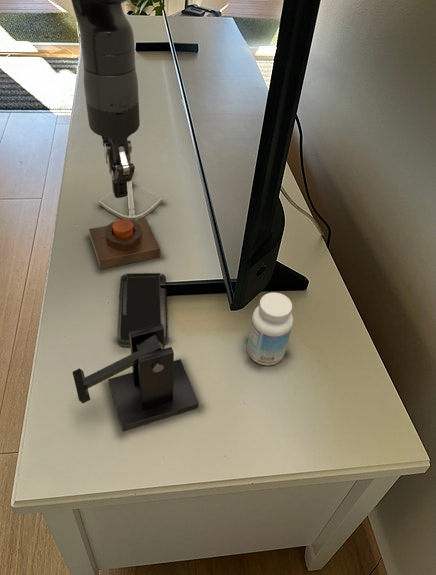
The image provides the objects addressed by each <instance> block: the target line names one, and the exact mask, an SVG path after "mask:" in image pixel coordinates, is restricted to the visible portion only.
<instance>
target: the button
mask: <svg viewBox="0 0 436 575" xmlns="http://www.w3.org/2000/svg"><path fill="white" fill-rule="evenodd" d="M114 221H115V222H114ZM114 221H113V222H114V223H113V234H114V236H115V237H117V238H120V239H126V238H130V237H131V236H132V235H133V233H134V232H133V223H132V222H131V221H132V220H131V221H130V220H127V219H122V218H119V219H116V220H114Z"/></svg>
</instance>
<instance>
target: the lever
mask: <svg viewBox="0 0 436 575" xmlns="http://www.w3.org/2000/svg"><path fill="white" fill-rule="evenodd" d="M136 346H137V349H138V351H137V352H135V353H133V354H131V353H130V354H129V355H127V356H125V357H123V358H121V359H119V360H117V361H114V362H113V363H111V364H109V365H107V366H105V367H103V368H101V369H99V370H97V371H95V372H92V373H91V374H89V375H87V376H85V372H84V371H83V370H82V369H81V368H77V369H75V370H73V371H72V376H73V381H74V385H75V388H76V394H77V398H78V401H79V402H80V403H81V404H86V403H88V402H89V401H91V396H90V392H89V389H90V388H92V387H94V386H96V385H98V384H100V383H102V382H105V381H106V380H108V379H111V378H113V377H115V376H116V375H118V374H120V373H122V372H123V371H126V370H128V369H130V368H132V366H134V365H136V364H138V356H139V355H143V354H147V353H150V352H154V351H158V350H162V349H165V346H164V347H163V345H162V343H161V341H160V340H159V339H158V337H157V336H156V335H154V336H152V337H150V338H148V339H146V340H144V341H142V342H140V343H138V344H136Z"/></svg>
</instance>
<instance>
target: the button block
mask: <svg viewBox="0 0 436 575" xmlns="http://www.w3.org/2000/svg"><path fill="white" fill-rule="evenodd" d="M115 221H116V220H114V221H112V222H111V223H109V224H107V225H103V226H97V227H93V228H88V233H89V239H90V242H91V244H92V248H93V250H94V254H95V257H96V259H97V263H98V266H99V269H100V270H105V269H110V268H113V267H114V268H115V267H120V266H125V265H129V264H135V263H138V262H139V263H140V262H144V261H149V260H153V259H158V258H161V248H160V245H159V244H158V241H157V239H156V237H155V235H154V233H153V230H152V228H151V226H150V224H149V222H148V219H147V218H140V219H138V220H136V221H135V220H130V221H131V222H132V223H133V232H134V233H133V235H132V236H131V237H130V238H126V239H120V238H117V237H115V236H114V234H113V223H114V222H115Z"/></svg>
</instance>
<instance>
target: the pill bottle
mask: <svg viewBox="0 0 436 575" xmlns="http://www.w3.org/2000/svg"><path fill="white" fill-rule="evenodd" d="M292 309H293V304H292V301H291V299H290V298H289V297H288V296H286V295H285V294H283V293H280V292H268V293H266V294H264V295H263V296H261V298H260V300H259V304H258V305H257V307H255V309H254V310H253V313H252V316H251V322H250V327H249V333H248V339H247V345H246V351H247V354H248V356H249V358H250V359H251V360H252V361H254V362H255V363H257V364H259V365H261V366H262V365H263V366H273V365H276V364H278V363H279V362H281V361H282V359H283V358H284V356H285V353H286V350H287V346H288V343H289V340H290V335H291V332H292V329H293V325H294V317H293V314H292V311H293V310H292Z"/></svg>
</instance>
